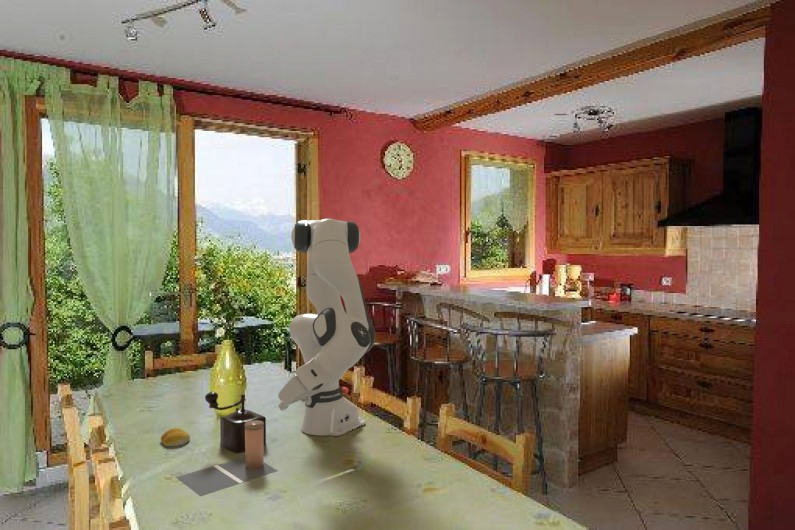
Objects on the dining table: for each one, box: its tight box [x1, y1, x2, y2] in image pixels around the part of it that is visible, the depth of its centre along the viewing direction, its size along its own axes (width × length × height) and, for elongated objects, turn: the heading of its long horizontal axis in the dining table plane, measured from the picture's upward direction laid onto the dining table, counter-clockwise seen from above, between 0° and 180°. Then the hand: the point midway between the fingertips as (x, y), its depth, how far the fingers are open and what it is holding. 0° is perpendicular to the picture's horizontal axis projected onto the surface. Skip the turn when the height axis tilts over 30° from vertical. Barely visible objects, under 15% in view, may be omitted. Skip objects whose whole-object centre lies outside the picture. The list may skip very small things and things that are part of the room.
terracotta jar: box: [244, 420, 265, 469], centre depth 153 cm, size 5×5×12 cm
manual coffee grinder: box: [204, 391, 267, 454], centre depth 167 cm, size 16×11×18 cm
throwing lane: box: [175, 456, 279, 497], centre depth 147 cm, size 22×15×1 cm
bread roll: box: [160, 427, 191, 447], centre depth 172 cm, size 8×9×4 cm
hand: (291, 403), depth 147 cm, fingers open, 8 cm apart
